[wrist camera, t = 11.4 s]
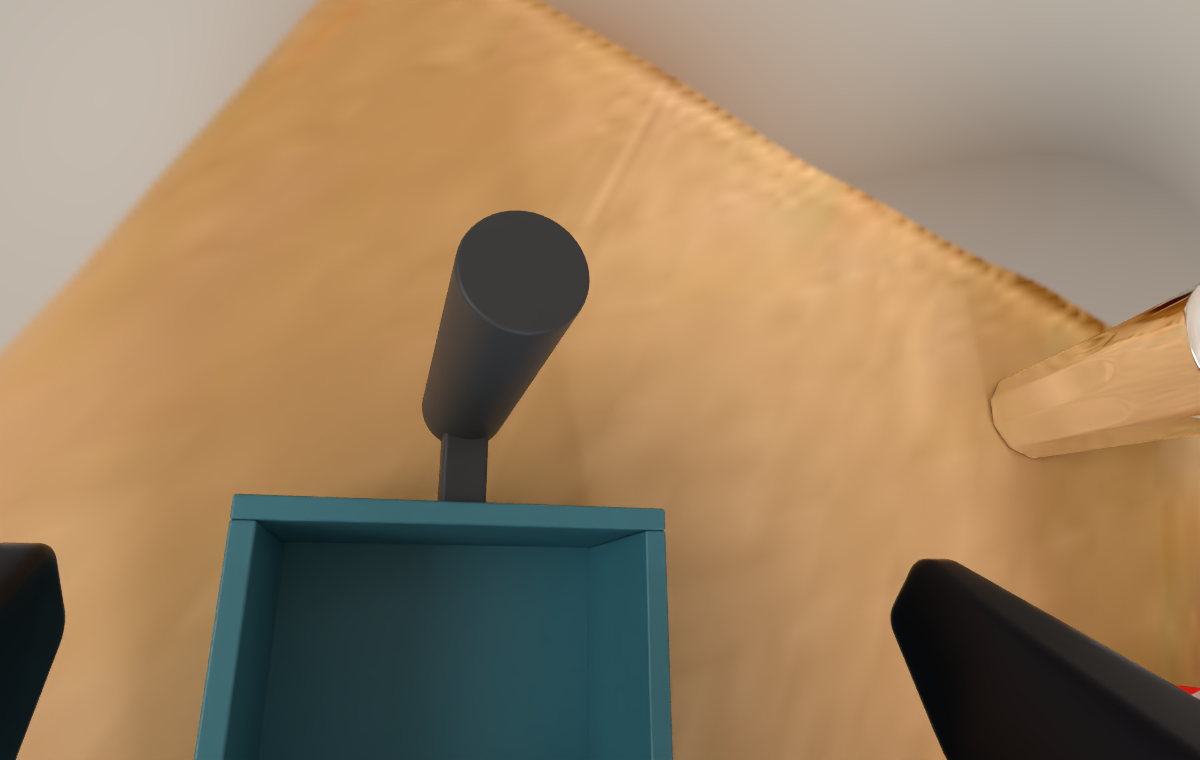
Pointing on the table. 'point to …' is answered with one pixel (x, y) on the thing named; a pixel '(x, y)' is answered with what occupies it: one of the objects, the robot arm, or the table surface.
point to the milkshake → (1109, 387)
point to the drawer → (450, 575)
